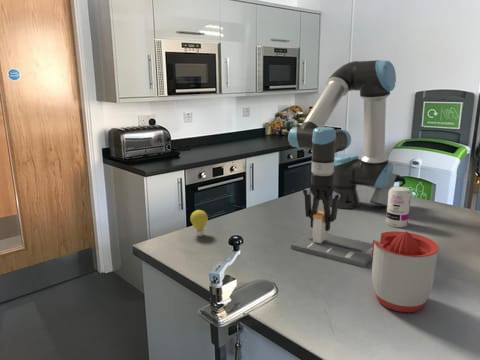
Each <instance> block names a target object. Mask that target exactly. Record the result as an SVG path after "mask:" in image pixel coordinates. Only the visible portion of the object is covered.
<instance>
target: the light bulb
mask: <svg viewBox="0 0 480 360" xmlns="http://www.w3.org/2000/svg"><path fill="white" fill-rule="evenodd" d="M189 220H190V223H191V224H192V226H193V227H194V229H195V231H194V232H195V234H196V236H197V237H203V236H204V232H205V229H204V228H205V227H206V225H207V223H208V220H209V217H208V214H207V213H206V212H205V211H204V210H201V209H197V210H194V211H193V212H191V214H190V219H189Z"/></svg>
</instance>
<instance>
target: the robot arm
mask: <svg viewBox="0 0 480 360" xmlns="http://www.w3.org/2000/svg"><path fill="white" fill-rule="evenodd" d="M396 75H397V74H396V69H395V66H394V65H393V63H392V62H391V61H390V60H383V59H382V60H381V59H379V60H378V59H377V60H358V61H356V60H355V61H354V60H353V61H351V62H347V63H345V64H343V65H341V66H340V67H339V68H338V69H336V70H335V71H334V72H333V73H332V74H331V75H330V76H329V77H328V80H327V81H326V83H325V88H324V90H323V92H322V93H321V95H320V96H319V98H318V99H317V101H316V103H314V105H313V107H312V108H311V110H310V111H309V113H308V114H307V116H306V117H305V119H304V120H303V123H302V124H301V125H300V126H297V127H294V126H293V127H292V128H291V129H290V130H289V131H288V135H287V140H288V142H289V145H290V146H291V147H293V148H297V149H306V150H311V167H310V168H311V174H310V186H309V188H305V189H304V190H302V193H303V195H304V209H305V217H307V218H309V219H310V228H312V229H313V224H314V218H313V215H314V214H316V213H317V212H318V209H319V205H320V200H321V201H322V204H323V205H322V206H323V212H324V215H325V221H324V222H323V234H322V240H325V239H326V238H327V234H329V231H331V230H330V229H331V223H333V222H335V220H337V215H338V209H346V210H347V209H354V208H357V207H359V206H360V198H359V195H358V190H357V185H358V186H362V187H369V188H374V189H376V188H385V187H386V186H387V185H388V183H389V181H390V179H391V176H392V173H393V170H394V165H393V163H392V162H391V161H389V156H388V155H387V154H386V150H385V149H386V113H387V112H386V111H387V108H386V107H387V105H386V104H387V98H388V97H389V96H390V95H391V92H392V91H393V90H394V89H395V88H396V82H397V76H396ZM350 91H359V96H360V97H361V98H362V99H363V154H362V155H361V156H360V157H359V155H358V154H350V153H349V154H342V155H341V154H340V155H335V154H337V153H339V152H342V151H345V150H346V149H348V148H349V146H350V145H351V143H352V136H351V134H350V133H349V132H348V131H347V130H346V129H340V128H339V129H335V128H334V127H329V126H328V127H327V126H325V125H326V123H327V122H328V121H329V119H330V117H331V116H332V114H333V112H334V111H335V109H336V108H337V106H338V104H339V102H340V101H341V99H342V98H343V97H345V96H347V94H348V93H349V92H350ZM311 195H312V196H313V199H312V196H311ZM312 237H313V235H312Z"/></svg>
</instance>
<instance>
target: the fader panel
mask: <svg viewBox="0 0 480 360" xmlns="http://www.w3.org/2000/svg"><path fill="white" fill-rule="evenodd" d="M312 235H313V229H312V230H311V229H310V230H309V231H307V232H306V233H305V234H303V235H302V236H301V237H299V238H298V239H296V240H295V241H294V242H292V243H291V244H290V249H291V250H295V251H298V252H303V253H307V254H310V255H314V256H317V257H318V256H319V257H322V258H327V259H329V260H334V261H337V262H338V261H339V262H341V263H346V264H350V265H354V266H357V267H361V268H366V266H367V265H368V264H369V262H370V261H371V260H373V258H372V254H368V253H366V252H367V251H368V250H370V249H371V248H372V247H373V243H371V242H366V241H361V240H357V239H351V238H347V237H344V236H339V235H333V234H330V233H328V234H327V238H326V240H324V241H323V242H322V243H317V242H313V237H312Z"/></svg>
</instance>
